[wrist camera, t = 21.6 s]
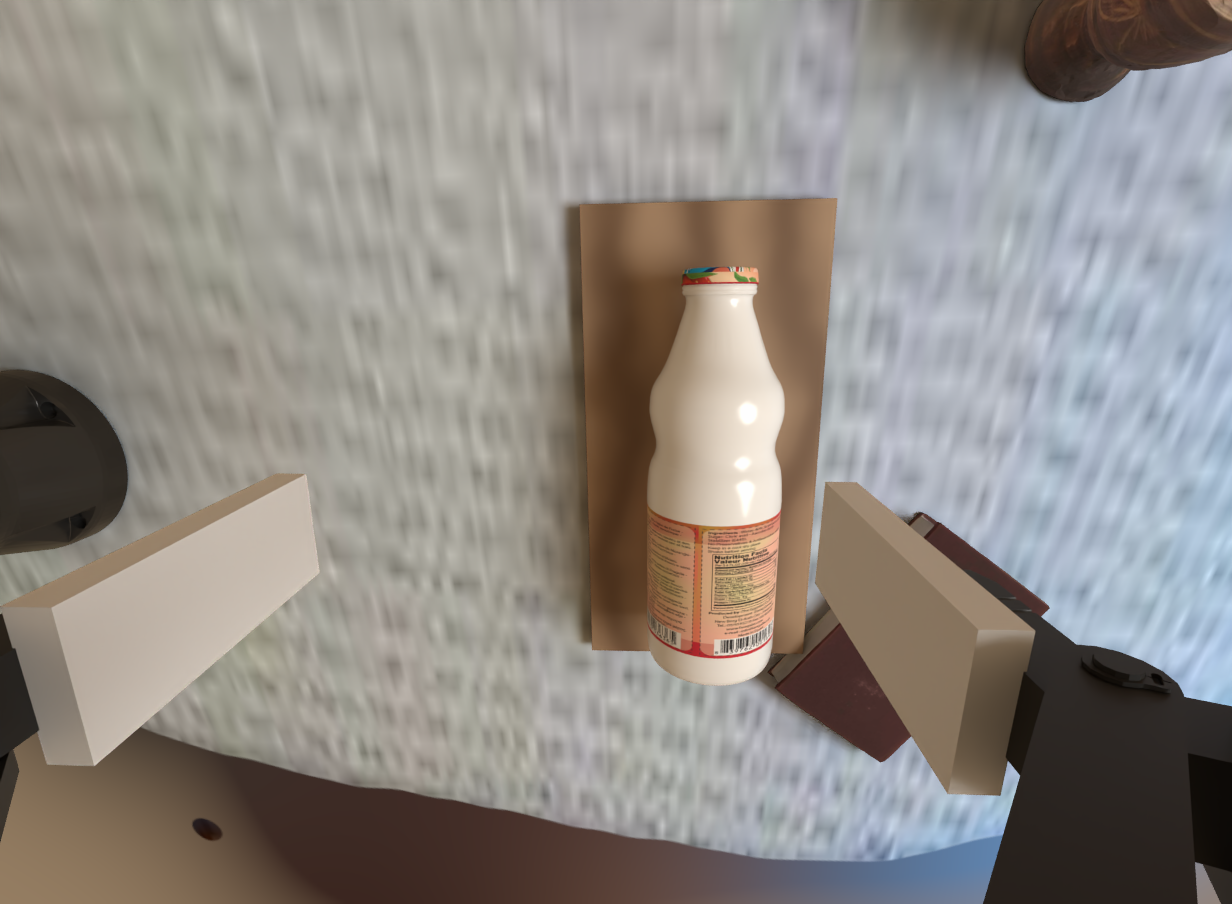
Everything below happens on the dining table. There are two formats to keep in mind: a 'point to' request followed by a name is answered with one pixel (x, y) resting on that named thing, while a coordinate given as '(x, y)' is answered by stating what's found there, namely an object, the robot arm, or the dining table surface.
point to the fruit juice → (714, 487)
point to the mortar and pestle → (1119, 41)
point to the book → (839, 676)
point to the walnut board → (638, 350)
